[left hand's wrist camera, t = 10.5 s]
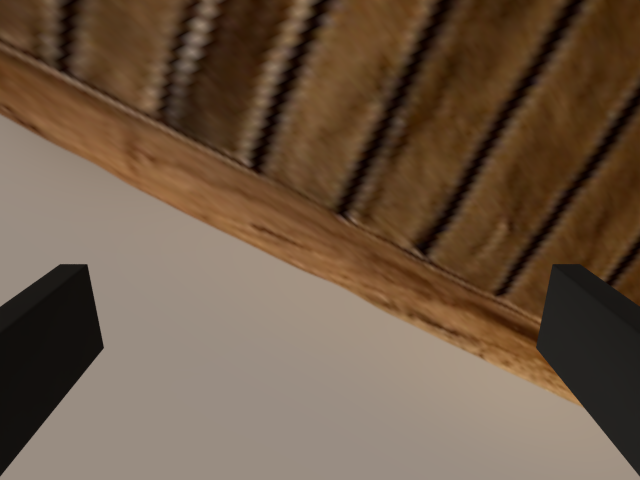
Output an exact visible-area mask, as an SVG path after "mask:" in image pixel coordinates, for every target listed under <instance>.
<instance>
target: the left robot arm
mask: <svg viewBox="0 0 640 480" xmlns="http://www.w3.org/2000/svg"><path fill="white" fill-rule="evenodd" d="M103 348H104V346H103V341H102V336H101V331H100V326H99V321H98V316H97V311H96V306H95V301H94V296H93V291H92V286H91V281H90V275H89V270H88V265H87V264H60V265H59V266H57V267H56V268H54V269H53V270H51V271H50V272H49V273H47V274H46V275H44V276H43V277H42V278H40V279H39V280H37V281H36V282H35V283H33V284H32V285H30V286H29V287H27V288H26V289H25V290H23V291H22V292H20V293H19V294H18V295H16V296H15V297H13V298H12V299H11V300H9V301H8V302H6V303H5V304H4V305H2V306H1V307H0V476H1V475H2V473H3V472H4V471H5V470H6V468H7V467H8V466H9V465H10V464H11V462H12V461H13V460H14V459H15V457H16V456H17V455H18V454H19V452H20V451H21V450H22V449H23V447H24V446H25V445H26V444H27V443H28V441H29V440H30V439H31V437H32V436H33V435H34V434H35V433H36V431H37V430H38V429H39V428H40V426H41V425H42V424H43V423H44V421H45V420H46V419H47V418H48V416H49V415H50V414H51V413H52V411H53V410H54V409H55V408H56V407H57V405H58V404H59V403H60V402H61V400H62V399H63V398H64V397H65V395H66V394H67V393H68V392H69V390H70V389H71V388H72V387H73V385H74V384H75V383H76V382H77V381H78V379H79V378H80V377H81V376H82V374H83V373H84V372H85V371H86V369H87V368H88V367H89V366H90V364H91V363H92V362H93V361H94V359H95V358H96V357H97V356H98V354H99V353H100V352H101V351H102V350H103ZM536 348H537V350H538V351H539V352H540V353H541V355H542V356H543V357H544V358H545V359H546V361H547V362H548V363H549V364H550V366H551V367H552V368H553V369H554V371H555V372H556V373H557V374H558V376H559V377H560V378H561V379H562V381H563V382H564V383H565V384H566V386H567V387H568V388H569V389H570V390H571V392H572V393H573V394H574V395H575V397H576V398H577V399H578V400H579V402H580V403H581V404H582V405H583V407H584V408H585V409H586V410H587V412H588V413H589V414H590V415H591V416H592V418H593V419H594V420H595V421H596V423H597V424H598V425H599V426H600V428H601V429H602V430H603V431H604V433H605V434H606V435H607V436H608V438H609V439H610V440H611V441H612V443H613V444H614V445H615V446H616V447H617V449H618V450H619V451H620V452H621V454H622V455H623V456H624V457H625V459H626V460H627V461H628V462H629V464H630V465H631V466H632V467H633V469H634V470H635V471H636V472H637V473H638V475H639V476H640V307H639V306H638V305H637V304H635V303H634V302H632V301H631V300H629V299H628V298H627V297H625V296H624V295H622V294H621V293H620V292H618V291H617V290H615V289H614V288H613V287H611V286H610V285H608V284H607V283H605V282H604V281H603V280H601V279H600V278H598V277H597V276H596V275H594V274H593V273H591V272H590V271H589V270H587V269H586V268H584V267H583V266H582V265H580V264H553V265H552V270H551V275H550V280H549V286H548V291H547V296H546V301H545V306H544V311H543V316H542V321H541V326H540V331H539V336H538V341H537V346H536Z"/></svg>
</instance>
